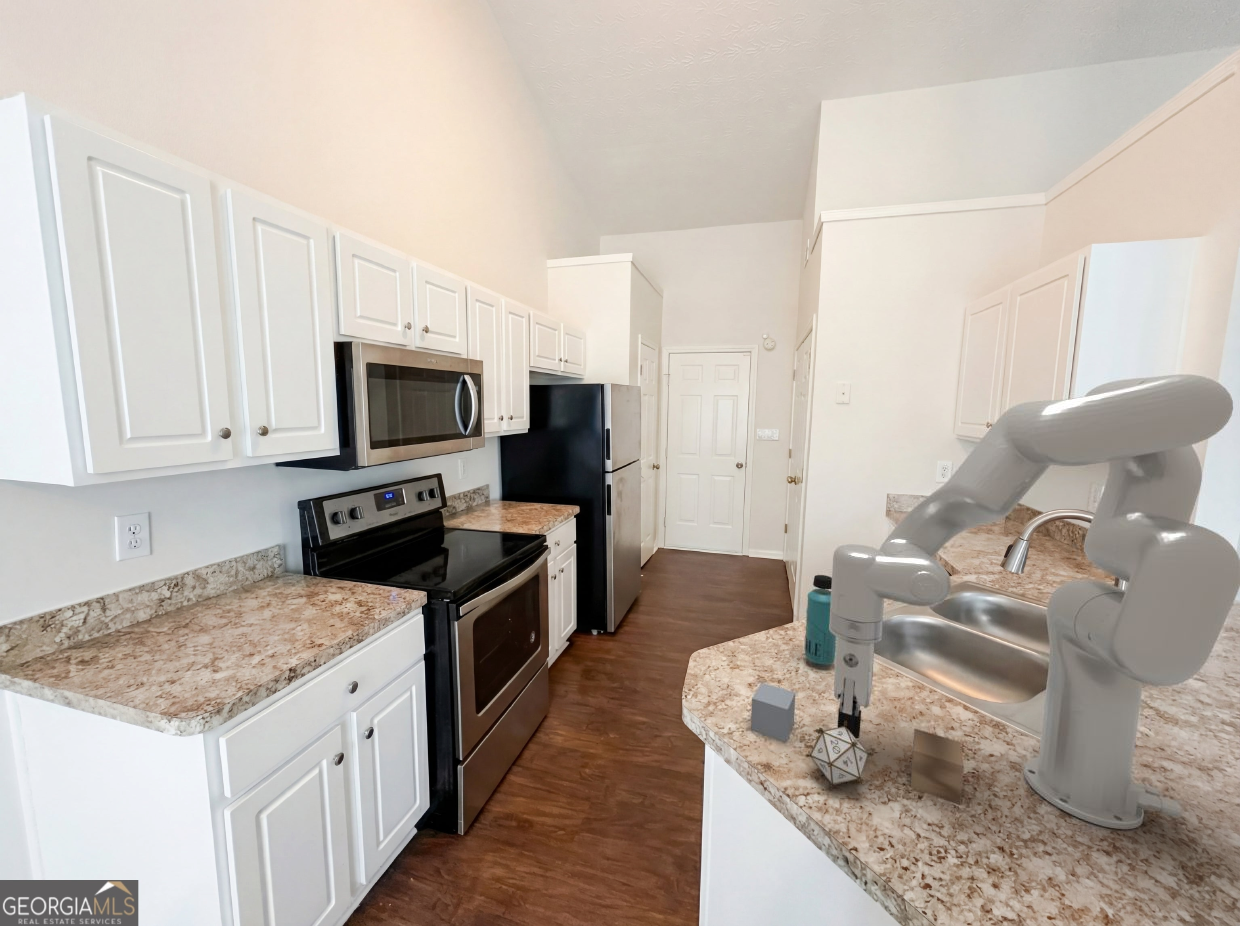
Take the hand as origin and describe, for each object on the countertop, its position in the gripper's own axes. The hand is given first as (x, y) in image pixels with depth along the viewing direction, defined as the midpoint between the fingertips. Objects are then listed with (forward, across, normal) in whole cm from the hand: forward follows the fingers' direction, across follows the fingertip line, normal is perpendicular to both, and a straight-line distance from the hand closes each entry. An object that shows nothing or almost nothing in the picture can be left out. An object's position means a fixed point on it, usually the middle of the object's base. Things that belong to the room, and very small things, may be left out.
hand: (848, 732), depth 78 cm
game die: (+4, -7, +1) cm, 8 cm away
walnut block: (+4, 0, -12) cm, 13 cm away
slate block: (+4, 0, +12) cm, 13 cm away
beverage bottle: (+4, +28, +8) cm, 30 cm away
